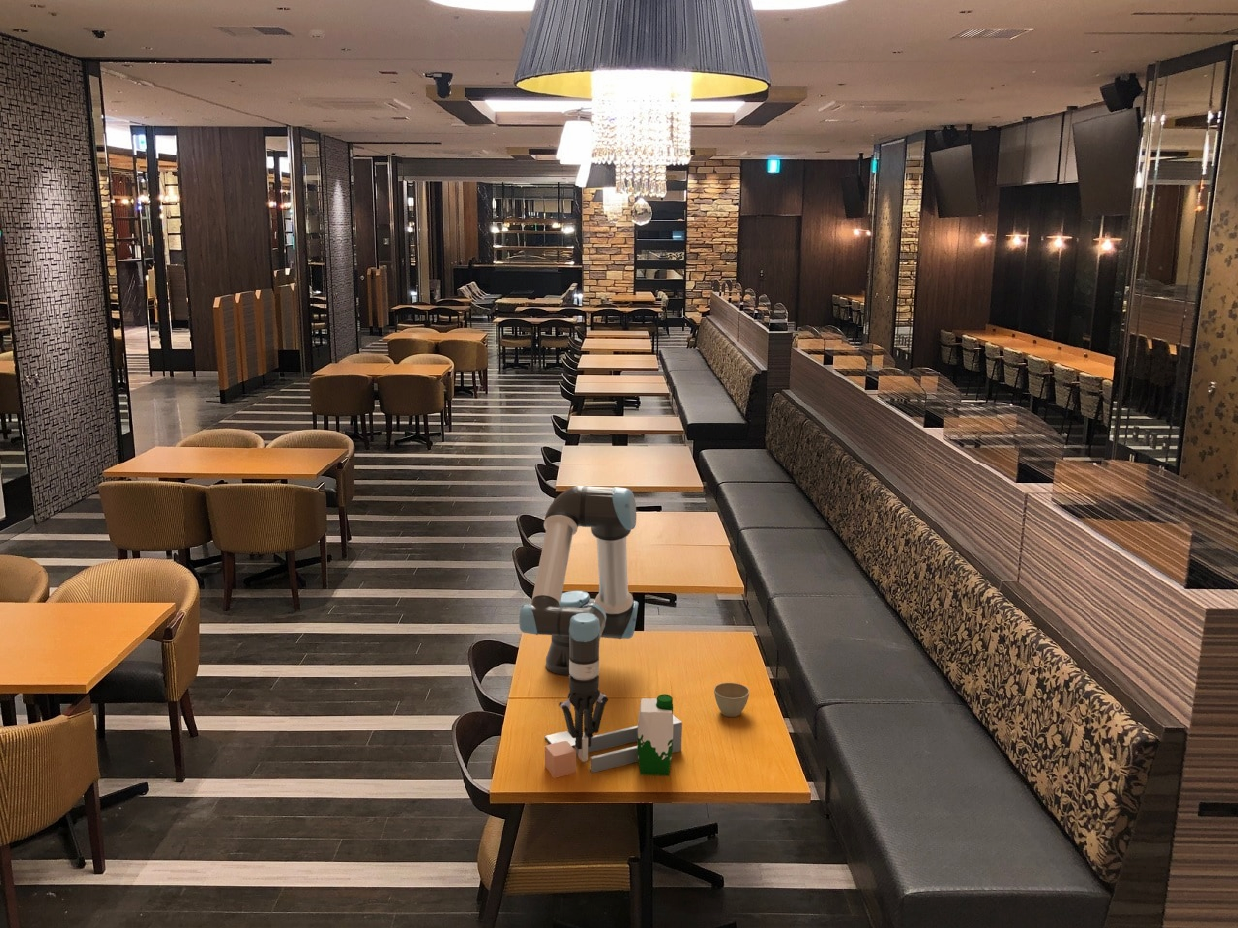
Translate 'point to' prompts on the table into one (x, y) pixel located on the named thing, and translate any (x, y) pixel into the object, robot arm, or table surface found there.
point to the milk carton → (655, 735)
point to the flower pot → (731, 698)
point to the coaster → (561, 738)
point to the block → (560, 759)
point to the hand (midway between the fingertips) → (583, 758)
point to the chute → (626, 754)
